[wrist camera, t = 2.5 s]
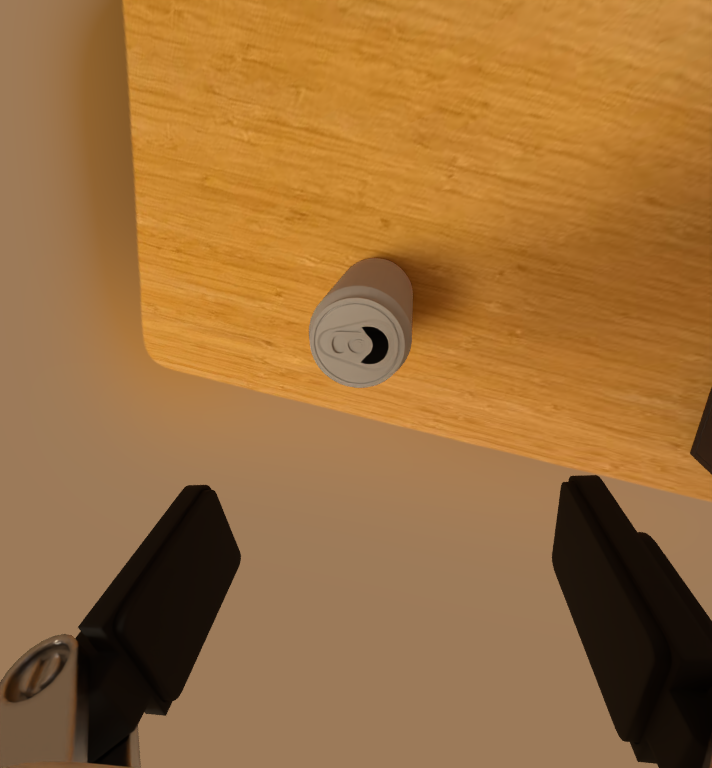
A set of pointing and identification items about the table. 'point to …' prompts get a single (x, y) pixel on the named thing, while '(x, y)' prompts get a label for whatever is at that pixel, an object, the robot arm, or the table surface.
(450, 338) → the table surface
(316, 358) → the beverage can
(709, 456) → the bin
